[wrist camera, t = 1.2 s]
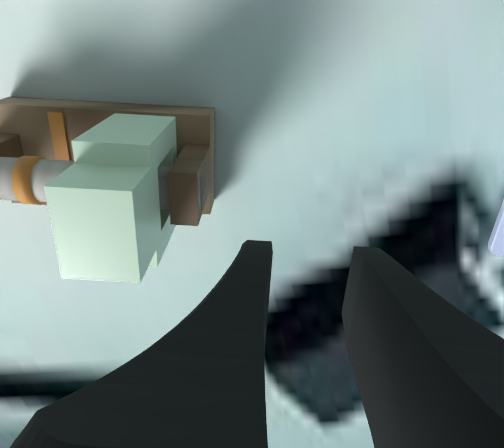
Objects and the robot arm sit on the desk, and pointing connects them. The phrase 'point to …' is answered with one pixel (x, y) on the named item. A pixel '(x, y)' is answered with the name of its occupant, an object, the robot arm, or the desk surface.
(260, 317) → the robot arm
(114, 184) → the mint green stepped block
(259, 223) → the desk surface
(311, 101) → the desk surface
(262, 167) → the desk surface
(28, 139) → the rod stand
